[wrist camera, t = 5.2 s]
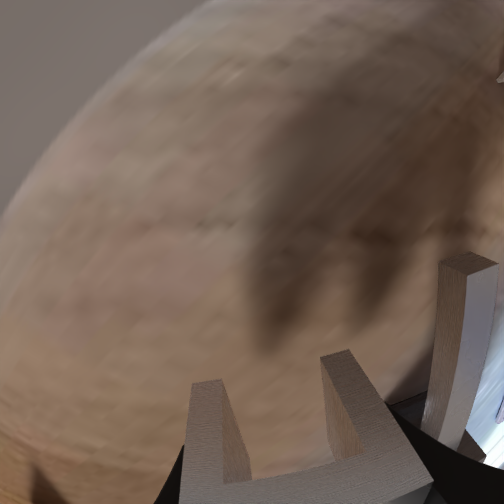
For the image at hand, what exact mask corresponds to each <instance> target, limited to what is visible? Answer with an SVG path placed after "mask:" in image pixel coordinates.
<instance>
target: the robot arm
mask: <svg viewBox="0 0 504 504" xmlns="http://www.w3.org/2000/svg"><path fill="white" fill-rule="evenodd" d="M384 403H385V404H386V406H387V408H388V409H389V411H390V412H391V414H392V415H393V417H394V418H395V420H396V421H397V423H398V425H399V426H400V428H401V429H402V431H403V432H404V434H405V436H406V437H407V439H408V440H409V442H410V443H411V445H412V447H413V448H414V450H415V451H416V453H417V454H418V456H419V458H420V459H421V461H422V462H423V464H424V466H425V467H426V469H427V470H428V472H429V474H430V475H431V477H432V479H433V480H434V482H433V484H432V486H431V488H430V491H429V493H428V495H427V497H426V499H425V501H424V503H423V504H504V470H502V469H498V468H495V467H492V466H489V465H486V464H483V463H481V462H478V461H476V460H473V459H471V458H469V457H467V456H465V455H462V454H460V453H458V452H457V451H455V450H453V449H451V448H449V447H447V446H446V445H444V444H442V443H441V442H439V441H437V440H436V439H434V438H433V437H431V436H430V435H428V434H427V433H425V432H424V431H422V430H421V429H419V428H418V427H416V426H415V425H414V424H412V423H411V422H410V421H408V420H407V419H406V418H404V417H403V416H402V415H400V414H399V413H398V412H397V411H395V410H394V409H393V408H392V407H391V406H389V405H388V404H387V403H386V402H384ZM503 421H504V400H503V402H502V405H501V408H500V410H499V413H498V415H497V418H496V421H495V422H496V423H497V424H499V423H501V422H503ZM184 446H185V444H184V445H183V446H182V448H181V451H180V453H179V455H178V458H177V460H176V462H175V464H174V466H173V468H172V471H171V473H170V475H169V477H168V479H167V481H166V482H165V484H164V486H163V488H162V490H161V492H160V494H159V495H158V497H157V499H156V501H155V502H154V504H179V496H180V485H181V475H182V465H183V455H184Z"/></svg>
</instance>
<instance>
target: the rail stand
mask: <svg viewBox="0 0 504 504" xmlns="http://www.w3.org/2000/svg"><path fill="white" fill-rule="evenodd" d="M498 271H499V263H496V262H494V261H492V260H489V259H487V258H485V257H482V256H480V255H478V254H475V253H473V252H467V253H463V254H460V255H457V256H454V257H451V258H447V259H444V260H441V261H438V301H437V318H436V331H435V342H434V351H433V359H432V367H431V374H430V381H429V387H428V391H426V392H424V393H421V394H419V395H417V396H414V397H412V398H410V399H407V400H405V401H402V402H400V403H397V404H394V405H392V406H391V407H392V408H393V409H394V410H395V411H397V412H398V413H399V414H400V415H402V416H403V417H404V418H406V419H407V420H408V421H410V422H411V423H412V424H414V425H415V426H416V427H418V428H419V429H421V430H422V431H424V432H425V433H427V434H428V435H430V436H431V437H433V438H434V439H436V440H437V441H439V442H441V443H442V444H444V445H446V446H447V447H449V448H451V449H453V450H455V451H457V452H458V453H460V454H462V455H465V456H467V457H469V458H471V459H473V460H476V461H478V462H481V463H483V462H484V460H485V458H486V456H487V455H486V454H485V453H484V452H483V450H482V449H481V448H480V447H479V445H478V444H477V443H476V442H475V440H474V439H473V438H472V437H471V436H470V434H469V433H468V432H467V431H466V429H465V427H466V425H467V422H468V419H469V416H470V413H471V410H472V407H473V403H474V400H475V397H476V393H477V390H478V386H479V383H480V379H481V375H482V371H483V367H484V363H485V358H486V354H487V349H488V344H489V339H490V334H491V328H492V322H493V315H494V308H495V301H496V292H497V283H498Z"/></svg>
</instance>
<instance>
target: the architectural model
mask: <svg viewBox="0 0 504 504" xmlns="http://www.w3.org/2000/svg"><path fill="white" fill-rule="evenodd" d="M496 80H497V82H498V83H501V82H504V71H503V72H502V74H501V75H500V76H499V77H498V78H497V79H496Z"/></svg>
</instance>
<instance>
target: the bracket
mask: <svg viewBox="0 0 504 504" xmlns="http://www.w3.org/2000/svg"><path fill="white" fill-rule="evenodd" d="M320 363H321V372H322V382H323V392H324V402H325V413H326V424H327V436H328V442H329V445H330V448H331V450H332V453H333V456H334V458H335V461H336V462H332V463H329V464H325V465H321V466H318V467H314V468H310V469H306V470H302V471H297V472H293V473H288V474H284V475H279V476H274V477H268V478H262V479H257V480H252V476H251V467H250V458H249V455H248V452H247V450H246V447H245V444H244V442H243V439H242V436H241V433H240V430H239V428H238V425H237V422H236V419H235V416H234V413H233V410H232V408H231V405H230V402H229V399H228V396H227V393H226V390H225V387H224V384H223V381H222V379H216V380H210V381H204V382H198V383H192V387H191V395H190V403H189V411H188V419H187V428H186V437H185V446H184V455H183V465H182V475H181V485H180V496H179V504H423V503H424V501H425V499H426V497H427V495H428V493H429V491H430V488H431V486H432V484H433V482H434V480H433V479H432V477H431V475H430V474H429V472H428V470H427V469H426V467H425V466H424V464H423V462H422V461H421V459H420V458H419V456H418V454H417V453H416V451H415V450H414V448H413V447H412V445H411V443H410V442H409V440H408V439H407V437H406V436H405V434H404V432H403V431H402V429H401V428H400V426H399V425H398V423H397V421H396V420H395V418H394V417H393V415H392V414H391V412H390V411H389V409H388V408H387V406H386V404H385V403H384V401H383V400H382V398H381V397H380V395H379V394H378V392H377V391H376V389H375V388H374V386H373V385H372V383H371V382H370V380H369V379H368V377H367V376H366V374H365V373H364V371H363V369H362V368H361V366H360V365H359V363H358V362H357V360H356V359H355V357H354V356H353V354H352V353H351V352H350V350H349V349H347V350H343V351H340V352H336V353H333V354H329V355H326V356H322V357H320Z"/></svg>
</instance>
